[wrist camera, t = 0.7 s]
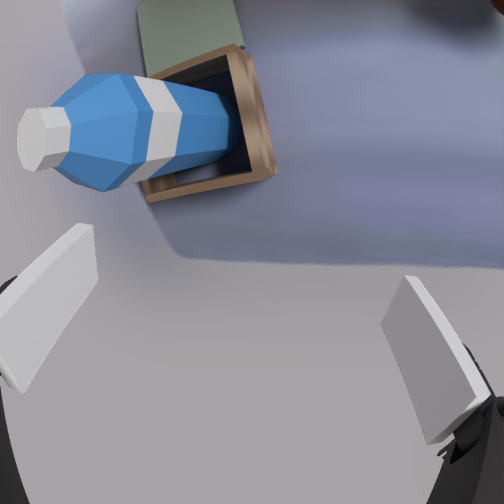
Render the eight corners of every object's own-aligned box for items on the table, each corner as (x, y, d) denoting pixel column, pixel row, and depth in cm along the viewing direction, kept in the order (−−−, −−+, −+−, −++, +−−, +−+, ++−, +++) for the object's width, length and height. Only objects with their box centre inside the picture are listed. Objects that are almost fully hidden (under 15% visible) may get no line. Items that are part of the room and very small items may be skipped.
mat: (140, 7, 31) (136, 6, 30) (224, -31, 25) (222, -34, 25) (152, 82, 35) (148, 81, 34) (245, 47, 30) (242, 45, 29)
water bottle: (166, 138, 37) (-5, 166, 15) (200, 79, 33) (26, 48, 11) (217, 177, 37) (51, 243, 15) (258, 116, 33) (96, 97, 11)
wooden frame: (151, 92, 35) (123, 90, 30) (252, 56, 30) (233, 43, 25) (173, 193, 40) (147, 203, 35) (277, 173, 35) (263, 180, 29)
